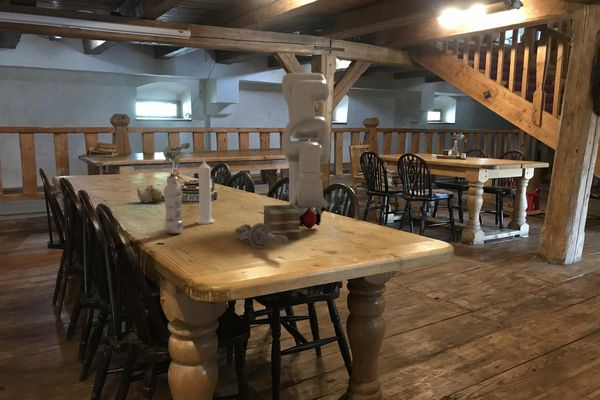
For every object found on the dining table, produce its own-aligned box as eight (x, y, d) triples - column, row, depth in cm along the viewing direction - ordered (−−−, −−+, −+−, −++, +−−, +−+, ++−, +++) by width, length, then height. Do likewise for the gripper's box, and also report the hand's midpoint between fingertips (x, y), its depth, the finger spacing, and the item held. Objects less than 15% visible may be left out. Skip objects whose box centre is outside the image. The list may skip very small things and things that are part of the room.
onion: (311, 231, 180) (311, 209, 179) (298, 229, 183) (298, 208, 182) (319, 228, 185) (319, 207, 183) (306, 226, 188) (306, 205, 187)
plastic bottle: (167, 236, 171) (165, 178, 168) (162, 232, 177) (160, 176, 174) (185, 234, 174) (184, 177, 171) (181, 230, 180) (179, 175, 177)
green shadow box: (291, 232, 178) (291, 204, 176) (300, 239, 167) (300, 209, 166) (263, 234, 175) (263, 205, 173) (271, 241, 164) (271, 210, 163)
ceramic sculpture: (140, 183, 247) (170, 185, 248) (139, 200, 248) (170, 202, 249) (134, 186, 236) (166, 188, 237) (133, 204, 238) (165, 205, 239)
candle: (210, 224, 191) (209, 159, 187) (193, 223, 192) (191, 159, 189) (217, 221, 198) (216, 158, 194) (200, 220, 199) (199, 157, 195)
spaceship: (273, 235, 138) (295, 222, 141) (222, 226, 167) (241, 215, 171) (283, 260, 140) (305, 246, 143) (231, 246, 169) (250, 235, 173)
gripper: (327, 175, 187) (327, 222, 190) (283, 176, 182) (283, 224, 185) (335, 177, 180) (334, 226, 183) (289, 178, 175) (289, 228, 177)
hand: (308, 224), depth 184 cm, fingers closed on onion, 5 cm apart
